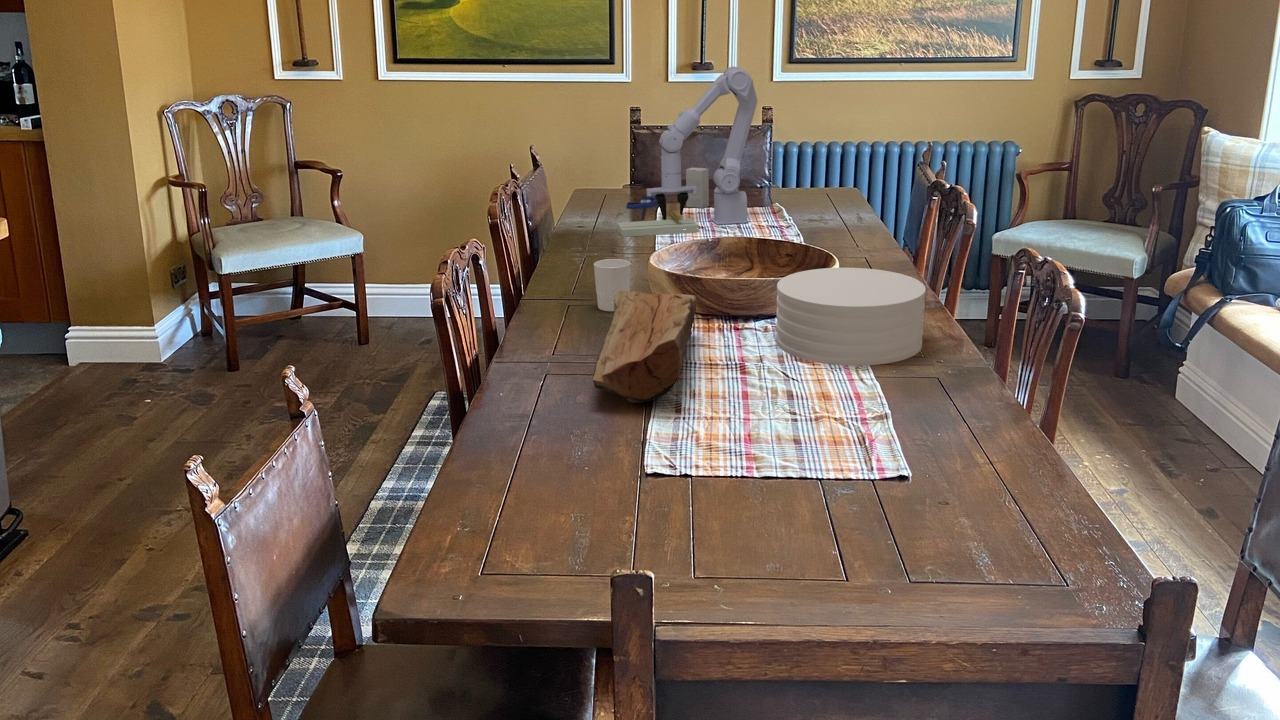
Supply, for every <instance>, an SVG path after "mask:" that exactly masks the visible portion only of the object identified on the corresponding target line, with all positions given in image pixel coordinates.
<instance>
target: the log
mask: <svg viewBox="0 0 1280 720" xmlns="http://www.w3.org/2000/svg"><path fill="white" fill-rule="evenodd" d="M613 312H614V313H613V317H612V321H611V326H610V327H609V329H608V331H607V333H606V335H605V338H604V340H603V342H602V345H601V348H600V351H599V352H598V355H597V357H596V362H595V366H594V370H593V376H592V377H593V378H592V382H593V385H594V388H595V389H598V390H601V391H605V392H608V393H611V394H615V395H619V396H621V397H624V398H625V400H627V401H628V402H629V403H632V404H633V403H646V402H651V401H654V400H658V399H660V398H663V396H665V395H667V394H669V393H670V392H671V391H673V389H674V387H675V386H676V385H677V383H678V380H679V376H680V373H681V369H682V367H683V365H684V362H685V356H686V349H687V345H688V342H689V340H690V339H691V335H693V330H692V328H693V324H694V318H695V315H696V312H697V297H696V295H694V294H683V293H682V294H680V293H678V294H676V293H645V292H643V291H642V292H641V291H636V290H635V291H634V290H630V291H622V290H618V292H617V293H616V295H615V296H614V311H613Z"/></svg>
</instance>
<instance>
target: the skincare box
mask: <svg viewBox="0 0 1280 720" xmlns="http://www.w3.org/2000/svg"><path fill="white" fill-rule="evenodd" d="M685 180H686V181H685V186H696V187H697V193H696V194H693V193H689V194H688V195H689V197H688V200H687V202H686V207H687V208H696V209H697V208H698V209H705V208H707V207H709V206H710V205H709V204H710V198H709V197H710V196H709V195H710V194H709V190H710V189H709V187H710V186H709V168H704V167H690V168H686V169H685Z"/></svg>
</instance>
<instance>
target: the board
mask: <svg viewBox="0 0 1280 720" xmlns="http://www.w3.org/2000/svg"><path fill="white" fill-rule="evenodd" d="M697 228H700V226H699V224H698V223H697V222H696V221H695V220H693V218H682V220H676V219H671V220H663V219H658V220H655V219H654V220H644V221H643V220H642V221H641V220H640V221H624V222H616V230H617V232H618V234H620V236H621V237H622V238H626V237H627V238H628V237H629V238H630V237H645V236H657V235H658V236H659V235H661V236H662V235H673V234H690V233H691V234H692V233H693V234H694V233H700V232H699V231H700V229H697ZM683 229H686V230H683Z"/></svg>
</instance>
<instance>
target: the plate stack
mask: <svg viewBox="0 0 1280 720" xmlns="http://www.w3.org/2000/svg"><path fill="white" fill-rule="evenodd" d="M926 292H927V289H926V286H925V284H924V283H923V282H922V281H920V280H918V279H917V278H914V277H913V276H909V275H906V274H904V273H898V272H895V271H889V270H885V269H884V270H882V269H874V268H864V267H826V268H815V269H808V270H801V271H798V272H794V273H791V274H789V275H786V276H784V277H782V278H781V279H780V280H779V281H778V282H777V284H776V293H777V296H776V307H777V308H776V324H775V330H776V333H775V343H776V345H777V347H779V349H780V350H782V351H784V352H785V353H787V354H788V355H791V356H794V357H796V358H799V359H801V360H802V359H803V360H806V361H811V362H816V363H821V364H826V365H827V364H829V365H837V366H875V365H885V364H892V363H896V362H900V361H904V360H907V359H909V358H912V357H914V356H916V355H917V354H918V353H919V352H921V350H922V347H923V335H924V326H923V324H924V321H925V313H924V311H925V305H926V304H925V303H926V300H925V297H926Z"/></svg>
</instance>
